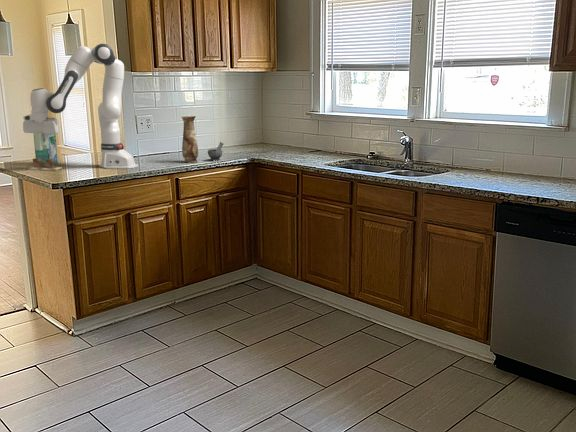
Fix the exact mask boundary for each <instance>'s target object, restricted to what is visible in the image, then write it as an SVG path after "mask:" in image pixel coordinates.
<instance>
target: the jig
mask: <svg viewBox="0 0 576 432" xmlns="http://www.w3.org/2000/svg"><path fill="white" fill-rule="evenodd" d="M59 169H60V170H62V169H63V166H56V164H55V159H46V163H42V158H36V157H35V158H32V165H31V166H27V167H26V170H33V171H35V170H36V171H53V170H56V171H59Z"/></svg>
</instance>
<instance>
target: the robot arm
mask: <svg viewBox="0 0 576 432" xmlns="http://www.w3.org/2000/svg"><path fill="white" fill-rule="evenodd" d="M93 63H96V64H100V65H103V66H104V71H105V72H104V77H103V83H102V99H101V100H102V101H101V102H100V103H99V104H98V106H97V113H98V119H99V120H98V121H99V126H100V137H101V138H100V141H101V143H100V149H101V150H100V151H101V158H100V159H101V161H100V165H99V166H100V167H101V168H103V169H123V170H125V169H129V170H130V169H134V168H138V167H139V164H138V163H135V159H134V156H133V155H132V154H131V153H129V152H128V151H127V150H126V149H125V144H123V143H121V142H122V141H121V128H120V125H119V118H120V116H121V114H122V96H123V86H124V80H125V64H124V63H123V61H121V60H120V59H117V58H116V56H115V54H114V51H113V49H112V47H111V46H110V45H109V44H107V43H99V44H97V45H96V46H94V47H93V48H89V47H88V46H86V45H80V46H79V47H78V48H76V49H75V50H74V52H73V53H72V55H70V57H69V59H68V61H67V63H66V66H65V68H64V76H63V79H62V81H61V83H60V85H59V87H58V88H57V90H56V91H55V92H54V93H53V92H51V91H50V90H47V89H46V88H43V87H42V88H41V87H40V88H33V89H32V90H31V91H30V97H29V98H30V99H29V100H30V106H31V111H30V112H31V114H27V115H24V116H23V123H22V130H23V132H24V133H25V134H33V137H34V136H35V135H34V132H42V134H45V138H43V141H45V142H46V141H47V138H48V136H49V134H55V135H57V134H59V131H60V130H59V126H58V120H57V118H56V117H49V112H51V113H53V114H61V113H62V112H64V111H65V110H66V107H67V99H68V97H69V95H70V93H71V91H72V90H73V88H74V86H75V85H76V84H77V83H79V82H78V81H80V80H81V79H82V78H83V77H84V76H85V74H86V73H87V71H88V70H89V67H90V66H91V65H92V64H93Z"/></svg>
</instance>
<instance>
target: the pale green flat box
mask: <svg viewBox="0 0 576 432" xmlns="http://www.w3.org/2000/svg"><path fill="white" fill-rule="evenodd" d="M34 135H35V144H34V150H35V149H36V150H43V149H49V140H48V138H47V141H46V142H45V141H43V138H45V134H42V132H34V133H33V136H34Z"/></svg>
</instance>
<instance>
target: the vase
mask: <svg viewBox="0 0 576 432" xmlns="http://www.w3.org/2000/svg"><path fill="white" fill-rule="evenodd" d="M180 117H181V119H182V121H183V133H182V144H181V152H182V153H181V154H182V157H183V159H184V161H183V163H185V162H196V163H198V162H197V161H198V160H197V158H198V157H199V145H198V142H197V141H198V140H197V135H196V130H195V124H194V121H195V119H196V117H197V115H194V114H192V115H188V114H187V115H185V114H184V115H181V116H180Z"/></svg>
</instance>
